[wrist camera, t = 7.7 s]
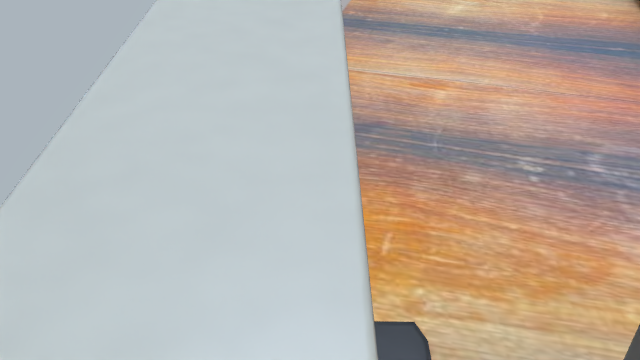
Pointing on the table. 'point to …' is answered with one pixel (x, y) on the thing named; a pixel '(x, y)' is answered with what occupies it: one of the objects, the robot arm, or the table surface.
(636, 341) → the grey books
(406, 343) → the robot arm
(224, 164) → the white book
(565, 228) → the table surface
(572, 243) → the table surface
